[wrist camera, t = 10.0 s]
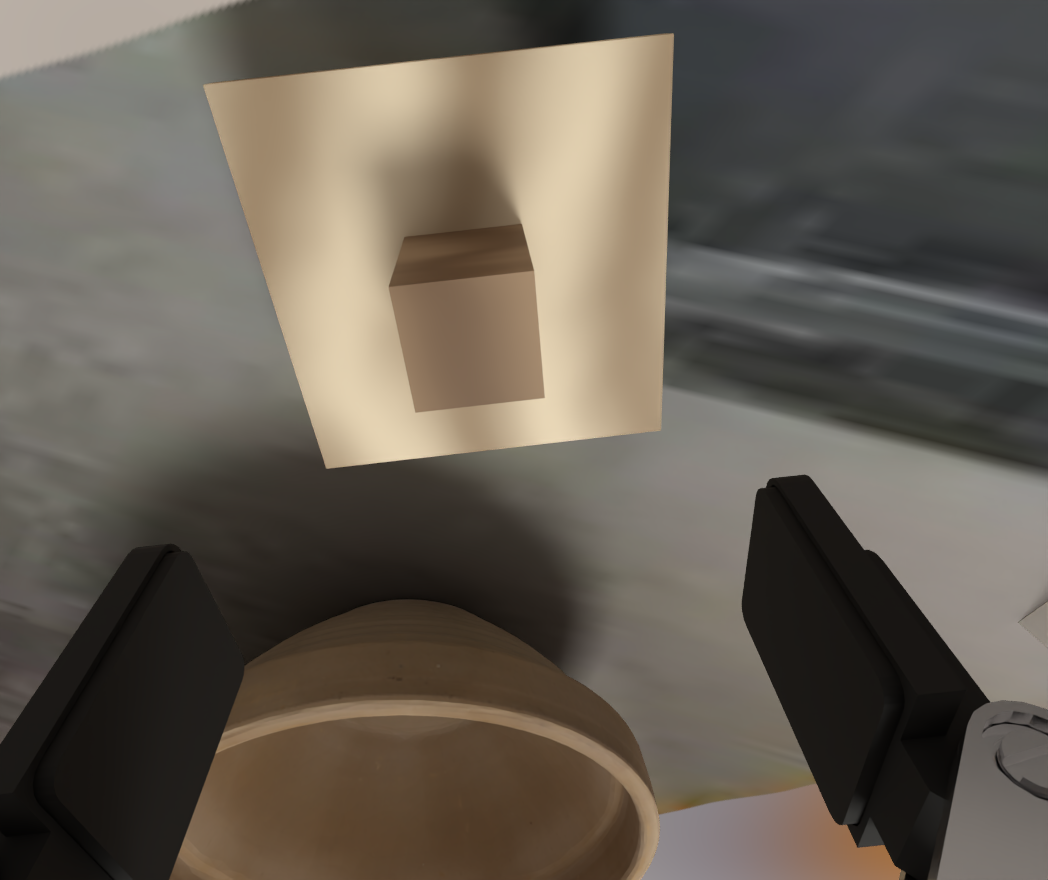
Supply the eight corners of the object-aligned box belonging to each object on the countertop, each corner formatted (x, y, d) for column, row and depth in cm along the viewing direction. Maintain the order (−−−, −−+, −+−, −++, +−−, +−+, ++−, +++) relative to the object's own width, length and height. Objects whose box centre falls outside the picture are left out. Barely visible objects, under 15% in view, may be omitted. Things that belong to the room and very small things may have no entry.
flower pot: (594, 469, 36) (648, 663, 25) (629, 748, 52) (672, 944, 41) (111, 552, 37) (-41, 775, 26) (288, 803, 52) (240, 1009, 41)
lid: (665, 33, 20) (731, 35, 15) (655, 418, 27) (696, 505, 22) (214, 82, 20) (125, 100, 15) (330, 455, 27) (299, 551, 22)
